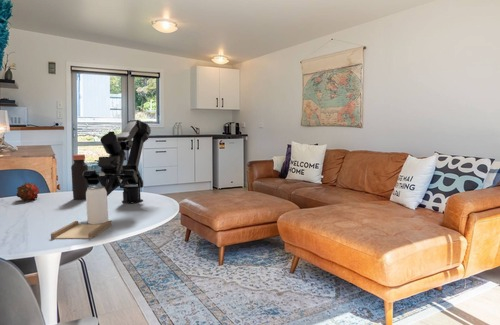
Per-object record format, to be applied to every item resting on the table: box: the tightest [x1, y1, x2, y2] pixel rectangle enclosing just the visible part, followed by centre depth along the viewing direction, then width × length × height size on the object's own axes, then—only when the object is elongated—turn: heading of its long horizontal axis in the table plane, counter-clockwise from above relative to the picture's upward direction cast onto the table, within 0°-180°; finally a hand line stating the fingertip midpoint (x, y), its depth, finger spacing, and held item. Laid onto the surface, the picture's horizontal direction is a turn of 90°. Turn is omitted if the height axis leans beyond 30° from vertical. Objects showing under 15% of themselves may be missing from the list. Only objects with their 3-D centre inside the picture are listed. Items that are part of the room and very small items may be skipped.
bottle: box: [70, 154, 90, 201], centre depth 162 cm, size 7×7×20 cm
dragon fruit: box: [16, 182, 40, 202], centre depth 162 cm, size 8×8×12 cm
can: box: [85, 185, 109, 224], centre depth 120 cm, size 6×6×12 cm
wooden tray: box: [50, 220, 113, 240], centre depth 111 cm, size 14×12×2 cm
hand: (104, 196), depth 126 cm, fingers closed
